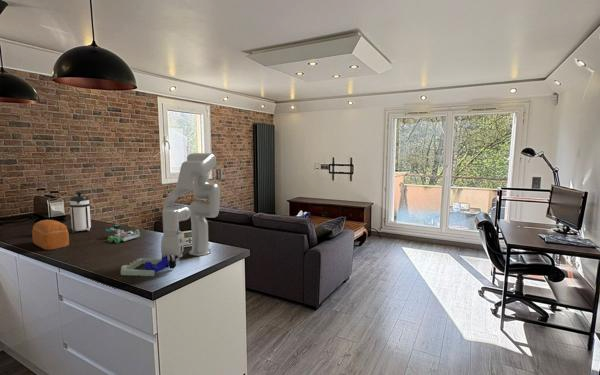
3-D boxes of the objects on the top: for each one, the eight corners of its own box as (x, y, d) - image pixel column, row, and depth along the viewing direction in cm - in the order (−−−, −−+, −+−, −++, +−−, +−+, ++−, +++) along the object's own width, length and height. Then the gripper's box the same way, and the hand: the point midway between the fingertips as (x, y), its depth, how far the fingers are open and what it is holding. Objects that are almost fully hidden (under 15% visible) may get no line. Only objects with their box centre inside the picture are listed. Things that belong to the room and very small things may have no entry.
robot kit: (118, 234, 238) (118, 221, 236) (144, 237, 228) (143, 224, 227) (94, 240, 220) (93, 227, 219) (121, 244, 211) (120, 230, 210)
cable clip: (162, 265, 172) (162, 255, 171) (168, 267, 170) (168, 256, 170) (143, 273, 161) (142, 261, 161) (149, 274, 159) (149, 263, 159)
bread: (44, 251, 195) (42, 225, 194) (31, 243, 211) (29, 220, 209) (71, 246, 206) (69, 221, 205) (56, 239, 222) (55, 216, 220)
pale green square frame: (140, 262, 176) (140, 255, 175) (170, 263, 175) (170, 256, 174) (120, 274, 158) (120, 267, 158) (153, 276, 157) (153, 268, 157)
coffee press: (99, 229, 250) (96, 191, 247) (78, 234, 235) (75, 193, 232) (83, 227, 256) (81, 190, 253) (62, 232, 241) (59, 192, 238)
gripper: (188, 231, 166) (189, 265, 169) (161, 230, 168) (162, 264, 170) (182, 235, 159) (183, 270, 161) (153, 234, 160) (154, 269, 162)
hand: (172, 267), depth 165 cm, fingers closed
